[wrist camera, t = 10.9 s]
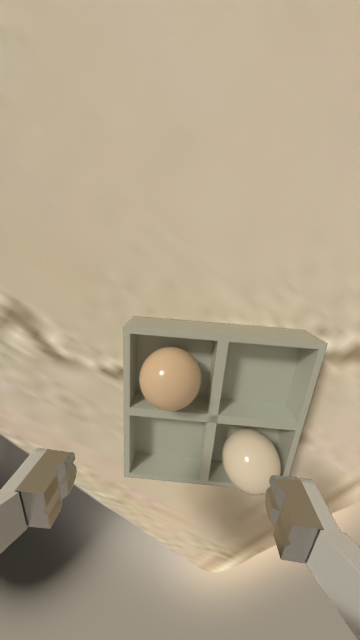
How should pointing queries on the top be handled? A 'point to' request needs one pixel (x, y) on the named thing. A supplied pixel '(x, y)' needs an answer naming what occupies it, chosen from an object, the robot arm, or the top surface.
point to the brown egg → (170, 378)
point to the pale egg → (250, 460)
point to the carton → (217, 396)
